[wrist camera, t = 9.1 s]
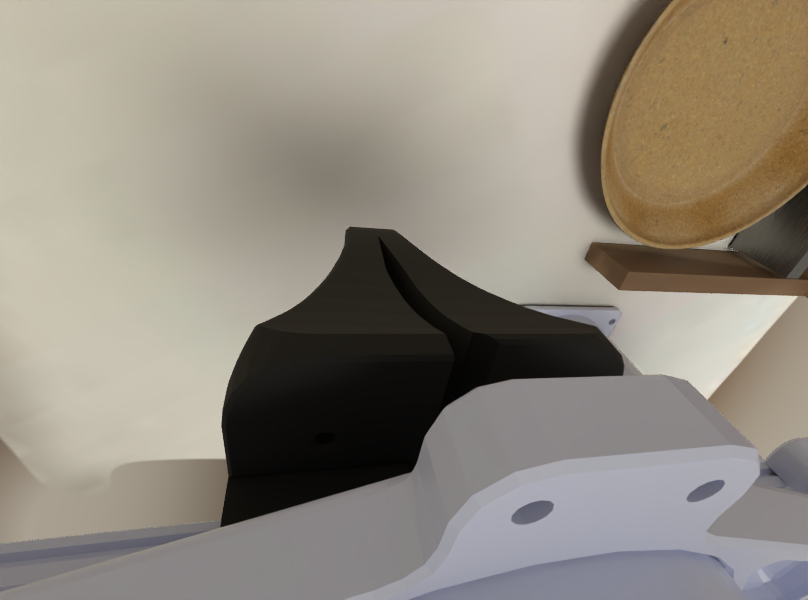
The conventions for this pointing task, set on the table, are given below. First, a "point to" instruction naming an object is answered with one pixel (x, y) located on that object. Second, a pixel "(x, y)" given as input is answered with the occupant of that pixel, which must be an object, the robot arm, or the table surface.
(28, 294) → the table surface
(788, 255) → the pusher plate
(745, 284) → the brown wooden open box
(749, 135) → the plant saucer
